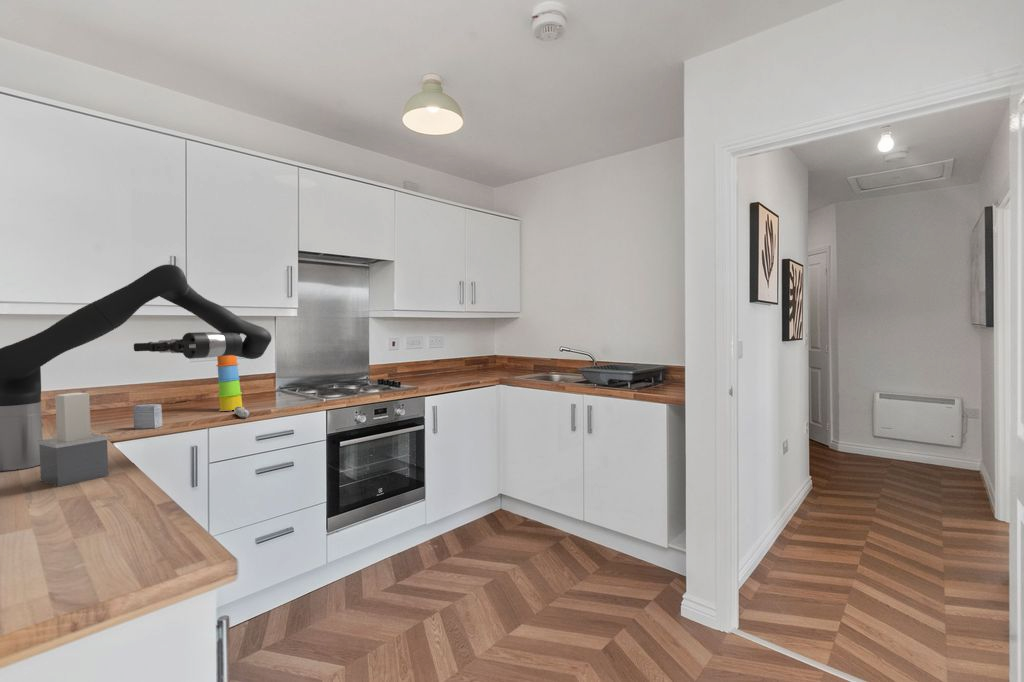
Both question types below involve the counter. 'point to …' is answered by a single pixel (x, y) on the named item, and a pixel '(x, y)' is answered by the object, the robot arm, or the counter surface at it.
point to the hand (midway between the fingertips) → (142, 347)
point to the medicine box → (147, 416)
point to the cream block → (72, 416)
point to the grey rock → (241, 412)
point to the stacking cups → (229, 383)
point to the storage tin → (73, 459)
